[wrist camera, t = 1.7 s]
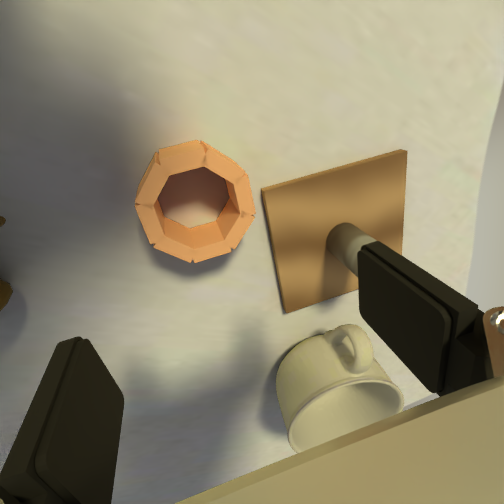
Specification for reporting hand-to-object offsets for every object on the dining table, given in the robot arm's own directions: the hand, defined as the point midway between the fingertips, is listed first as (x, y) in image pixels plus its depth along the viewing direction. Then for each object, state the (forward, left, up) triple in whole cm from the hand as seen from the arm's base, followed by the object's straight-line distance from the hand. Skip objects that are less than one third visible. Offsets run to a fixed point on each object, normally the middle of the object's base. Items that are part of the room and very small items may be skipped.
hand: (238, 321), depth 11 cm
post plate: (+6, +11, -14) cm, 19 cm away
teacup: (+19, +8, -14) cm, 25 cm away
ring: (-1, 0, -14) cm, 14 cm away
